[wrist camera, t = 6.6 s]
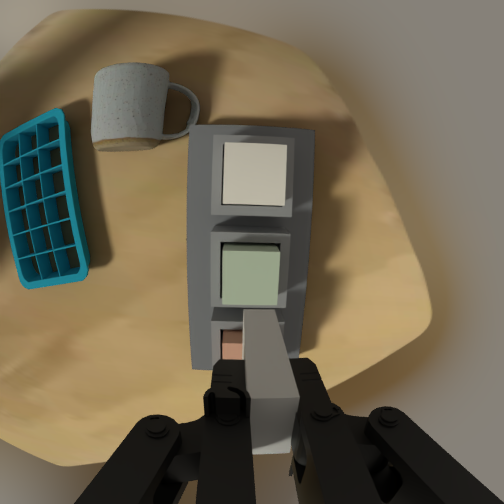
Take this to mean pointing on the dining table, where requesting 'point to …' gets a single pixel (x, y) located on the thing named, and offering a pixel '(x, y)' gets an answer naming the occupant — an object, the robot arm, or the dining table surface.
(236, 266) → the sage key
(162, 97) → the ceramic mug
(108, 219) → the dining table surface
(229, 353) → the terracotta key
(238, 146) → the ivory key
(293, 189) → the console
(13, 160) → the ice cube tray
